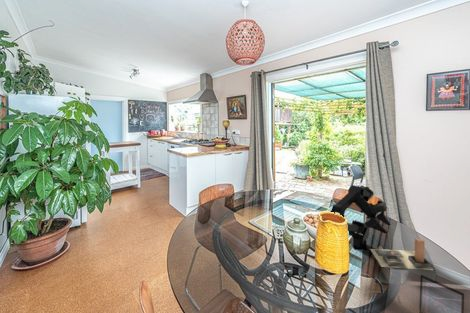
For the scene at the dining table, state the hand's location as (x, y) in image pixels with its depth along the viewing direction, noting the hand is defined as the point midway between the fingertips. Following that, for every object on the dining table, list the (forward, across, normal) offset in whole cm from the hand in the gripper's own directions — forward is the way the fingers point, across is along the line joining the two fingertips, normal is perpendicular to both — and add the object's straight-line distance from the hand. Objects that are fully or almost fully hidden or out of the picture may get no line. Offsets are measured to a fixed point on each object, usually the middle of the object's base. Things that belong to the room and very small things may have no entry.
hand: (388, 229), depth 109 cm
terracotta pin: (+18, -5, 0) cm, 18 cm away
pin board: (+13, -6, +6) cm, 15 cm away
